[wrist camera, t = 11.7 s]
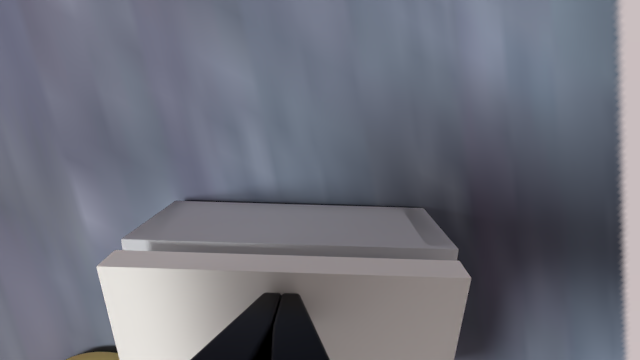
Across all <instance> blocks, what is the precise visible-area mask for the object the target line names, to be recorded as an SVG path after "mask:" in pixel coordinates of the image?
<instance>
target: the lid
mask: <svg viewBox="0 0 640 360" xmlns="http://www.w3.org/2000/svg"><path fill="white" fill-rule="evenodd" d="M96 267H97V271H98V275H99V279H100V283H101V287H102V291H103V295H104V299H105V303H106V307H107V311H108V315H109V319H110V323H111V327H112V331H113V335H114V339H115V343H116V347H117V351H118V356H119V360H190V359H192V358H193V357H194V356H195V355H196V354H197V353H198V352H199V351H200V350H201V349H203V348H204V347H205V346H206V345H207V344H208V343H209V342H210V341H211V340H212V339H214V338H215V337H216V336H217V335H218V334H219V333H220V332H221V331H222V330H223V329H225V328H226V327H227V326H228V325H229V324H230V323H231V322H232V321H233V320H234V319H236V318H237V317H238V316H239V315H240V314H241V313H242V312H243V311H244V310H245V309H247V308H248V307H249V306H250V305H251V304H252V303H253V302H254V301H255V300H256V299H258V298H259V297H260V296H261V295H262V294H263V293H265V292H270V293H280V294H281V295H282V294H284V293H298V294H299V295H300V296H301V298H302V300H303V303H304V305H305V307H306V309H307V311H308V313H309V316H310V318H311V320H312V322H313V324H314V326H315V328H316V331H317V333H318V335H319V337H320V339H321V341H322V344H323V346H324V348H325V350H326V352H327V354H328V357H329V359H330V360H454V357H455V352H456V348H457V343H458V338H459V334H460V329H461V325H462V320H463V315H464V311H465V306H466V301H467V297H468V292H469V287H470V283H471V277H470V275H469V274H468V272H467V271H466V270H465V268H464V267H463V265H462V264H461V262H460V261H454V260H422V259H389V258H357V257H325V256H293V255H261V254H229V253H196V252H164V251H132V250H115V251H114V252H112V253H111V254H110V255H109V256H108V257H107V258H105V259H104V260H103V261H102V262H101V263H100V264H99V265H97V266H96Z"/></svg>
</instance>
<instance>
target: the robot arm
mask: <svg viewBox="0 0 640 360" xmlns="http://www.w3.org/2000/svg"><path fill="white" fill-rule="evenodd" d="M190 360H330V359H329V357H328V354H327V352H326V350H325V348H324V346H323V344H322V341H321V339H320V337H319V335H318V333H317V331H316V328H315V326H314V324H313V322H312V320H311V318H310V316H309V313H308V311H307V309H306V307H305V305H304V303H303V300H302V298H301V296H300V295H299V294H298V293H284V294H282V295H281V294H280V293H270V292H265V293H263V294H262V295H261V296H260V297H259V298H258V299H256V300H255V301H254V302H253V303H252V304H251V305H250V306H249V307H248V308H247V309H245V310H244V311H243V312H242V313H241V314H240V315H239V316H238V317H237V318H236V319H234V320H233V321H232V322H231V323H230V324H229V325H228V326H227V327H226V328H225V329H223V330H222V331H221V332H220V333H219V334H218V335H217V336H216V337H215V338H214V339H212V340H211V341H210V342H209V343H208V344H207V345H206V346H205V347H204V348H203V349H201V350H200V351H199V352H198V353H197V354H196V355H195V356H194V357H193V358H192V359H190Z"/></svg>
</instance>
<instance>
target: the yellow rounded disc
mask: <svg viewBox="0 0 640 360" xmlns="http://www.w3.org/2000/svg"><path fill="white" fill-rule="evenodd" d="M66 360H119V356H118V353H113V352H89V353H84V354H79V355H76V356H73V357H70V358H68V359H66Z"/></svg>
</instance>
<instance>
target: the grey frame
mask: <svg viewBox="0 0 640 360" xmlns="http://www.w3.org/2000/svg"><path fill="white" fill-rule="evenodd" d="M121 242H122V249H123V250H132V251H164V252H196V253H229V254H261V255H293V256H325V257H357V258H389V259H422V260H454V261H457V257H458V251H459V249H458V248H457V247H456V246H455V245H454V243H453V242H452V241H451V240H450V239H449V238H448V236H447V235H446V234H445V233H444V232H443V231H442V229H441V228H440V227H439V226H438V225H437V223H436V222H435V221H434V220H433V219H432V218H431V216H430V215H429V214H428V213H427V212H426V211H425V209H424V208H404V207H370V206H335V205H301V204H267V203H232V202H198V201H174V202H173V203H172V204H170V205H169V206H167V207H166V208H165V209H163V210H162V211H160V212H159V213H157V214H156V215H155V216H153V217H152V218H150V219H149V220H148V221H146V222H145V223H143V224H142V225H140V226H139V227H138V228H136V229H135V230H133V231H132V232H131V233H129V234H128V235H126V236H125V237H123V238H122V239H121Z"/></svg>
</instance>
